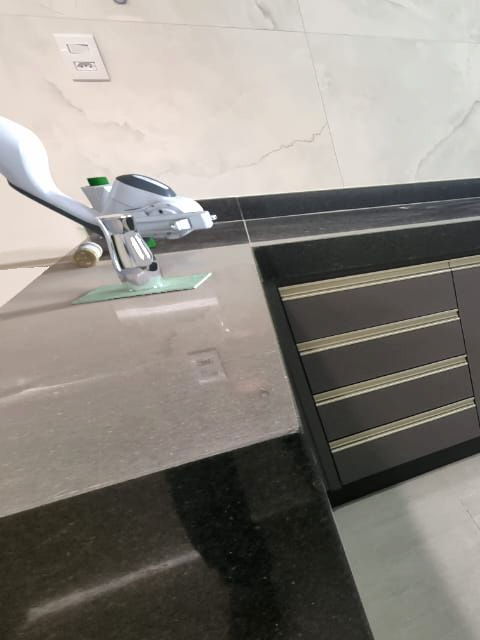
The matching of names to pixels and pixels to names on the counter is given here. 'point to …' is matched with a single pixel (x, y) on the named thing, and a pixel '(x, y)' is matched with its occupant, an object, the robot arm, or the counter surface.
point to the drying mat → (120, 290)
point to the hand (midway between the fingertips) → (148, 229)
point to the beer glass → (130, 253)
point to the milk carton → (101, 196)
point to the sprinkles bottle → (87, 254)
